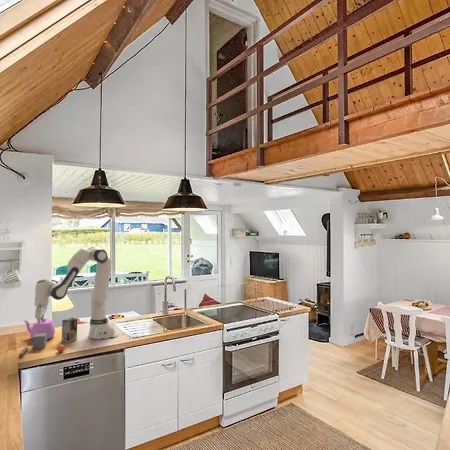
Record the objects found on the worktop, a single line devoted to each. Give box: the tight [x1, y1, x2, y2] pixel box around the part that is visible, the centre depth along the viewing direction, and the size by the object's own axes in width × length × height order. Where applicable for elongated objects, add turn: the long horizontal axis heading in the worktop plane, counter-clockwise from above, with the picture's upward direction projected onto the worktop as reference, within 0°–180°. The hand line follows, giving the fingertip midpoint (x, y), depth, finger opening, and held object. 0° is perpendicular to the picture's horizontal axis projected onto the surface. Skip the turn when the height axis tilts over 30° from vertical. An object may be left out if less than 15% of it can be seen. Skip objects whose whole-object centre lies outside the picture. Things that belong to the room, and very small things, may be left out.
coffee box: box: [61, 317, 78, 343], centre depth 266 cm, size 9×6×16 cm
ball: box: [56, 344, 66, 353], centre depth 241 cm, size 5×5×5 cm
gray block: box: [32, 333, 48, 350], centre depth 249 cm, size 7×7×9 cm
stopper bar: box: [18, 346, 29, 359], centre depth 235 cm, size 2×14×2 cm, turn 17°
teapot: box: [22, 317, 56, 340], centre depth 271 cm, size 23×21×15 cm
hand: (40, 321), depth 249 cm, fingers open, 8 cm apart
